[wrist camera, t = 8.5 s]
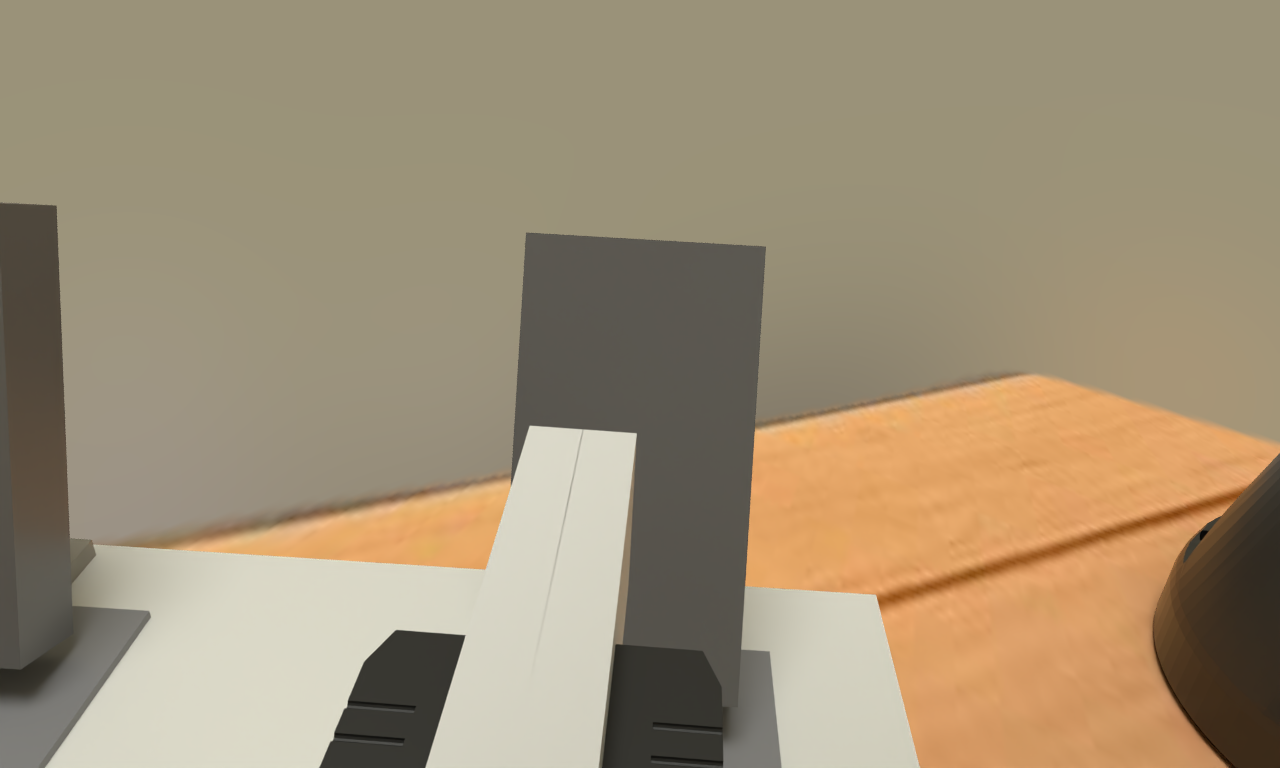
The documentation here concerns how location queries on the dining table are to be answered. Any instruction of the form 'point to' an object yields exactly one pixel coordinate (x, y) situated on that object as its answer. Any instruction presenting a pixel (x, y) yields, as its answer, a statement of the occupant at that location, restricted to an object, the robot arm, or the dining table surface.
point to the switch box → (348, 634)
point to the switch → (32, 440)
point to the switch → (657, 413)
